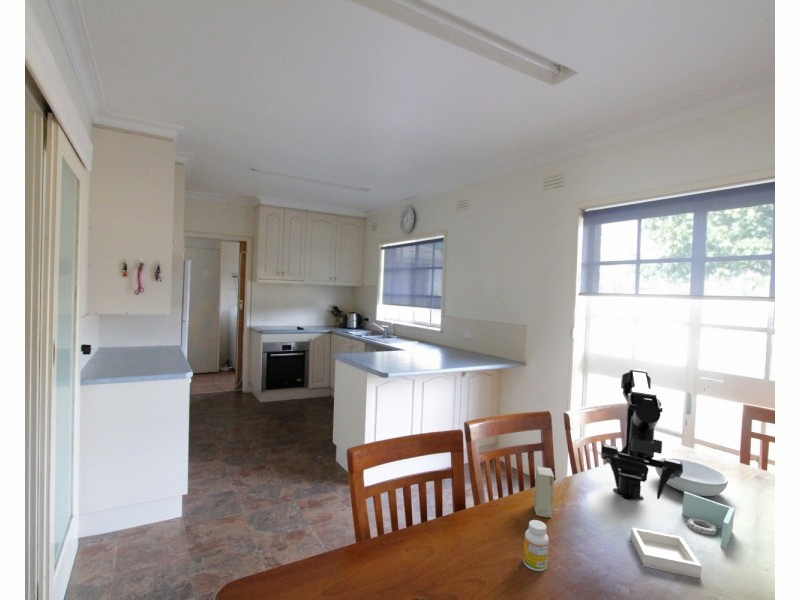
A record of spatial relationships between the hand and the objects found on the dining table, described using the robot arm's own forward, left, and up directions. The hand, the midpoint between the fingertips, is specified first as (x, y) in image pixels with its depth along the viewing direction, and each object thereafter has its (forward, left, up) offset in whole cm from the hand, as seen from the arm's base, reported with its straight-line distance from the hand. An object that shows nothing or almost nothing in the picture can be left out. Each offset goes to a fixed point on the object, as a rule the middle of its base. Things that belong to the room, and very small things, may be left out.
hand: (637, 493), depth 108 cm
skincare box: (-18, -16, -15) cm, 28 cm away
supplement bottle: (+4, -30, -15) cm, 34 cm away
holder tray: (+4, +5, -14) cm, 16 cm away
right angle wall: (-6, +27, -15) cm, 31 cm away
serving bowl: (-29, +45, -15) cm, 55 cm away
